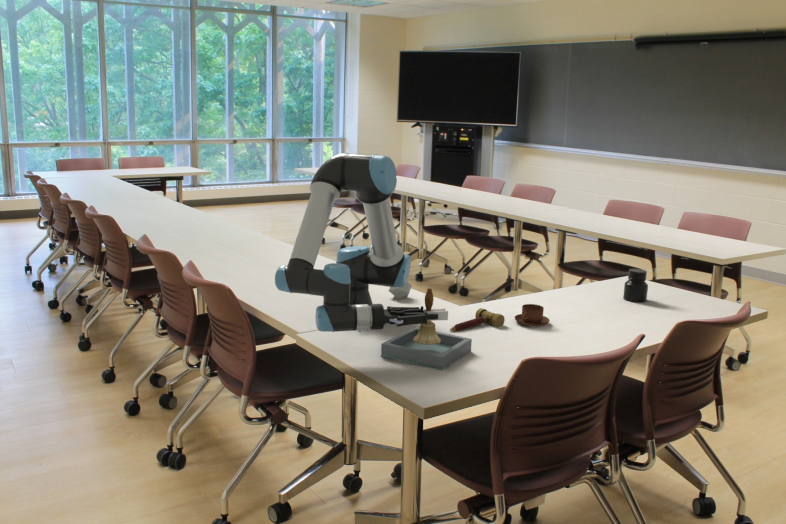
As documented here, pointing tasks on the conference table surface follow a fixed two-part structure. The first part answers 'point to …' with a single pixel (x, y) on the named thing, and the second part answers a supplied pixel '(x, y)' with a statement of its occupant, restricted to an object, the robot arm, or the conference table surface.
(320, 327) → the robot arm
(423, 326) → the hand bell
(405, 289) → the grey polyhedron block
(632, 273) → the ink bottle
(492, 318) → the gavel
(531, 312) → the cup and saucer
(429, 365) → the box
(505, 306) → the conference table surface
